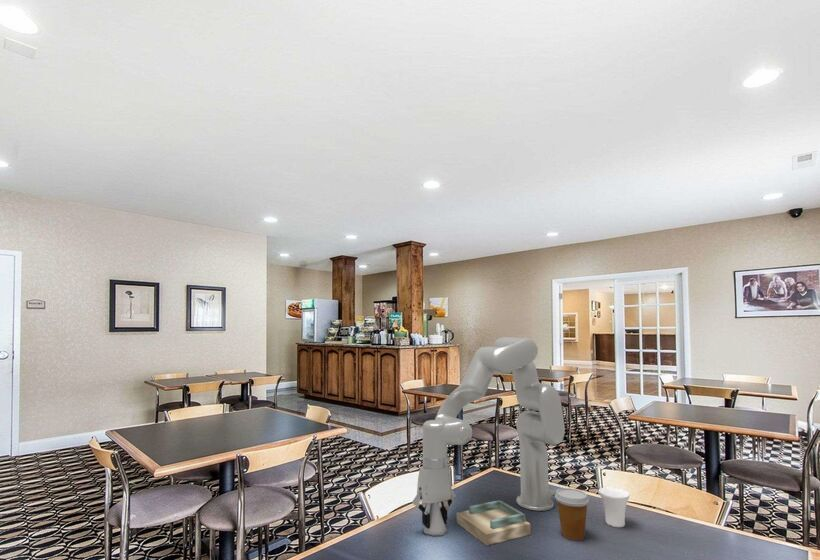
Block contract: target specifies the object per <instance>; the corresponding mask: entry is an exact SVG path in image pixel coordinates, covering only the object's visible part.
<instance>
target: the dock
mask: <svg viewBox="0 0 820 560" xmlns="http://www.w3.org/2000/svg"><path fill="white" fill-rule="evenodd" d="M456 524H458V525H459V526H460V527H461V528H463V529H465V531H466V532H468V533H469V534H471V535H472V536H473V537H475V538H476V539H477V540H479V541H480V542H481V543H483V544H484V545H485V546H490V544H491V545H495V544H498V543H503V542H505V541H509V540H513V539H517V538H521V537H526V536H529V535H531V523H530V522H528V521H526V514H525V513H523V512H522V511H520V510H518V509H516V508H515V507H513V506H512V505H510V504H508V503H506V502H504V501H502V500H501V499H498V500H493V501H488V502H484V503H480V504H479V503H478V504H474V505H469V506H468V510H464V511H458V512H456ZM494 543H495V544H494Z"/></svg>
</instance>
